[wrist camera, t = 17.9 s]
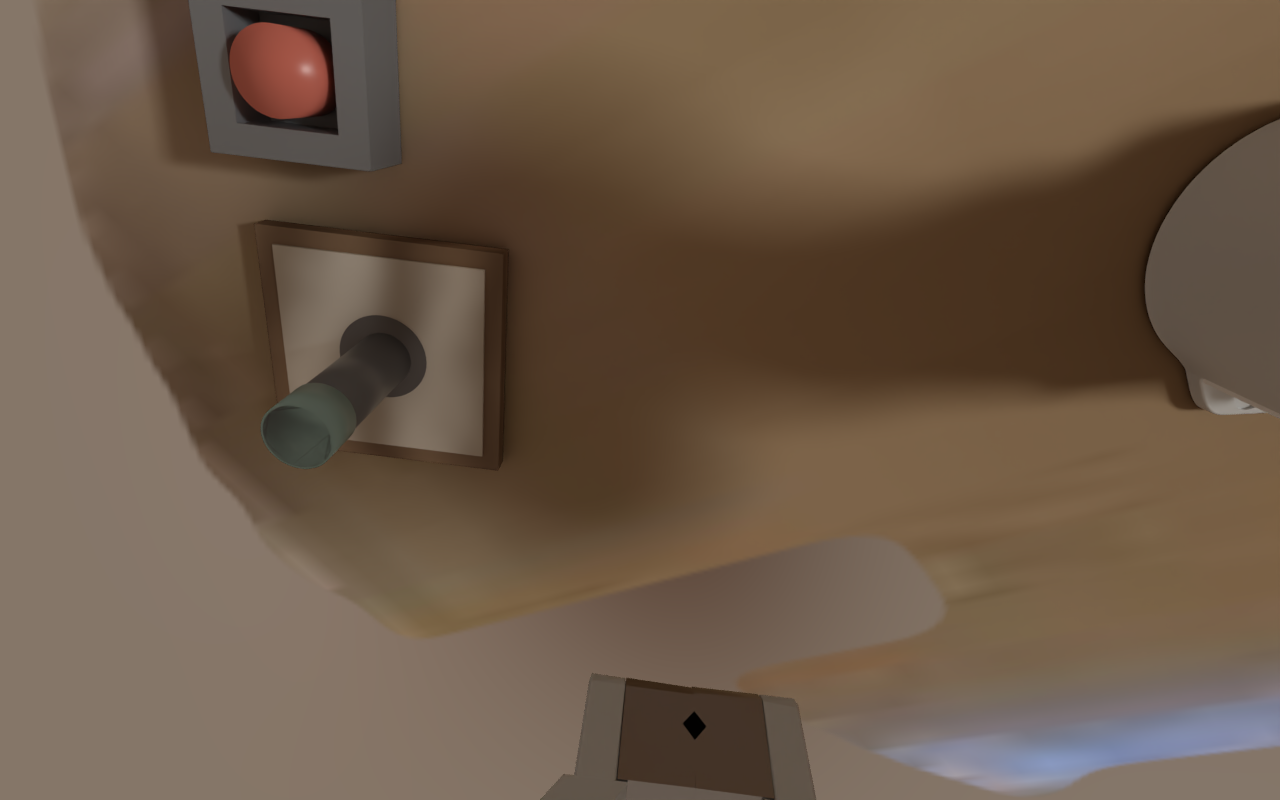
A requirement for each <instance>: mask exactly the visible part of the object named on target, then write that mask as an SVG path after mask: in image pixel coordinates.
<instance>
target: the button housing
mask: <svg viewBox="0 0 1280 800" xmlns="http://www.w3.org/2000/svg"><path fill="white" fill-rule="evenodd" d="M188 2H189V8H190V15H191V22H192V28H193V35H194V42H195V49H196V55H197V62H198V69H199V75H200V82H201V89H202V96H203V102H204V109H205V116H206V122H207V129H208V136H209V143H210V149H211V152H214V153H223V154H231V155H239V156H247V157H255V158H264V159H272V160H280V161H288V162H297V163H305V164H313V165H321V166H330V167H338V168H346V169H354V170H363V171H375V170H379V169H383V168H386V167H390V166H394V165H398V164H402V160H401V133H400V107H399V80H398V53H397V26H396V0H188ZM260 22H266V23H273V24H280V25H286V26H292V27H298V28H304V29H308V30H311V31H314V32H316V33H318V34H319V35H321V36H322V37H324V38H325V39H326V40H327V41H328V42H329V43H330V44H331V45H332V53H333V66H334V80H335V93H336V108H335V109H334V110H333V111H331V112H330V113H328V114H326V115H323V116H318V117H305V118H292V119H276V118H271V117H268V116H266V115H264V114H262V113H260V112H258V111H257V110H255V109H254V108H253V107H252V106H250V105H249V104H248V103H247V102H246V100H245V99H244V98H243V97H242V95H241V94H240V93H239V91H238V89H237V87H236V85H235V83H234V81H233V78H232V75H231V70H230V62H229V59H230V50H231V46H232V43H233V41H234V39H235V37H236V36H237V35H238V33H239V32H240V31H241V30H242V29H244V28H245V27H247V26H249V25H251V24H254V23H260Z"/></svg>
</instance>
